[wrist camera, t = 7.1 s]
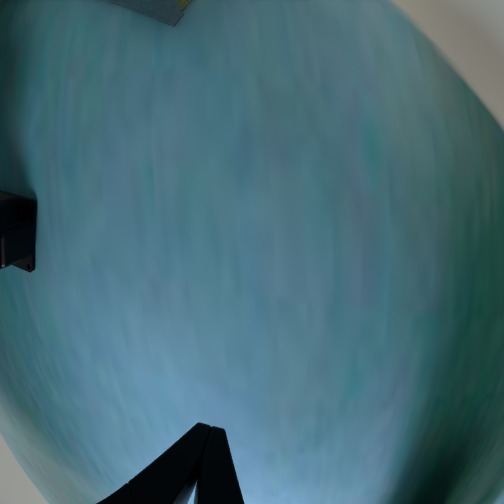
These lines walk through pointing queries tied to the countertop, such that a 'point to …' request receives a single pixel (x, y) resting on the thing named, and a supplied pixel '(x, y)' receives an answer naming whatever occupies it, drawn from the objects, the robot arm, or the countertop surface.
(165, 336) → the countertop surface
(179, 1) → the spacer
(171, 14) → the grey piece
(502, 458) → the countertop surface
